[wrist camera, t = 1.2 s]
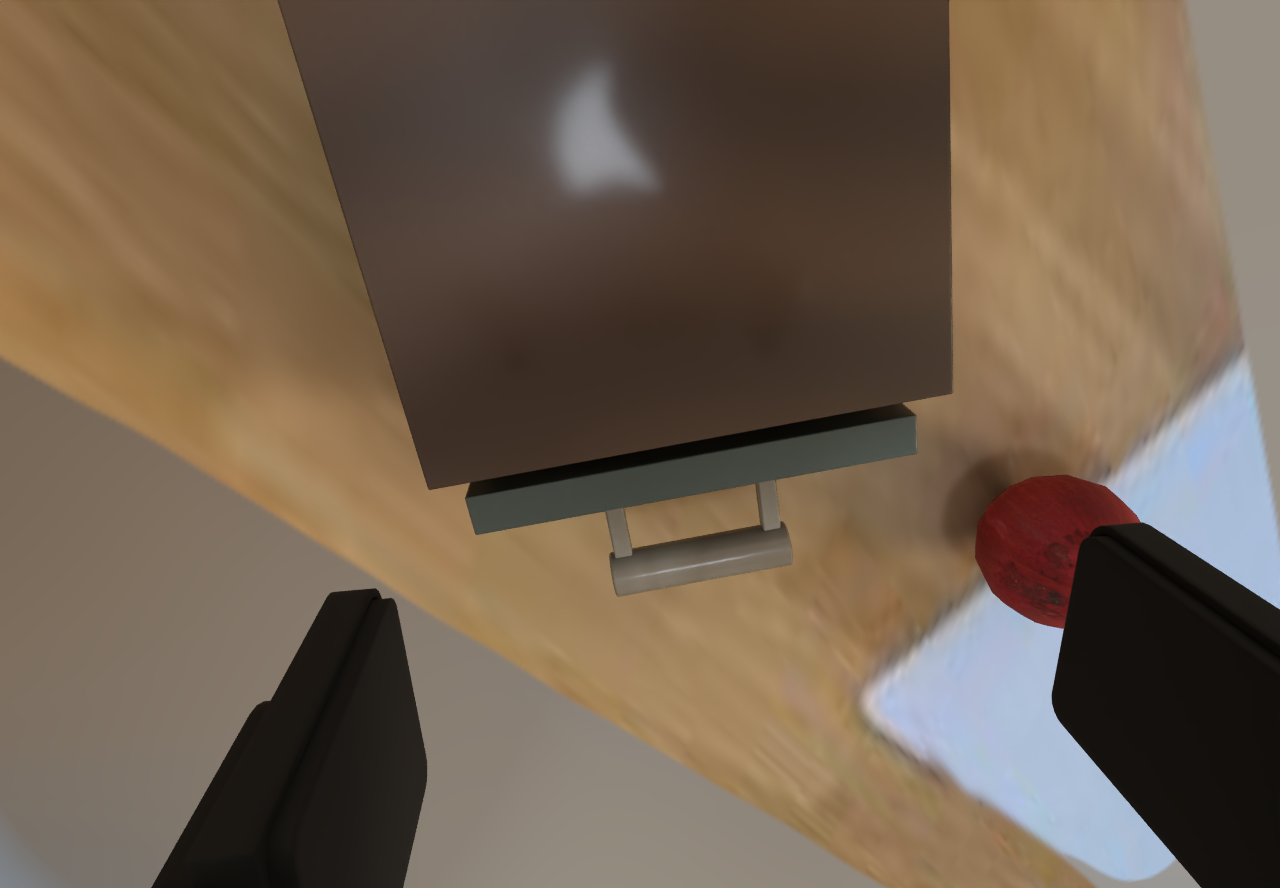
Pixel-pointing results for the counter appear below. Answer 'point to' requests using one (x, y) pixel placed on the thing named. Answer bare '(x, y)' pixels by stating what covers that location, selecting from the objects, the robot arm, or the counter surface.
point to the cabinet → (638, 213)
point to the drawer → (694, 492)
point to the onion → (1042, 541)
